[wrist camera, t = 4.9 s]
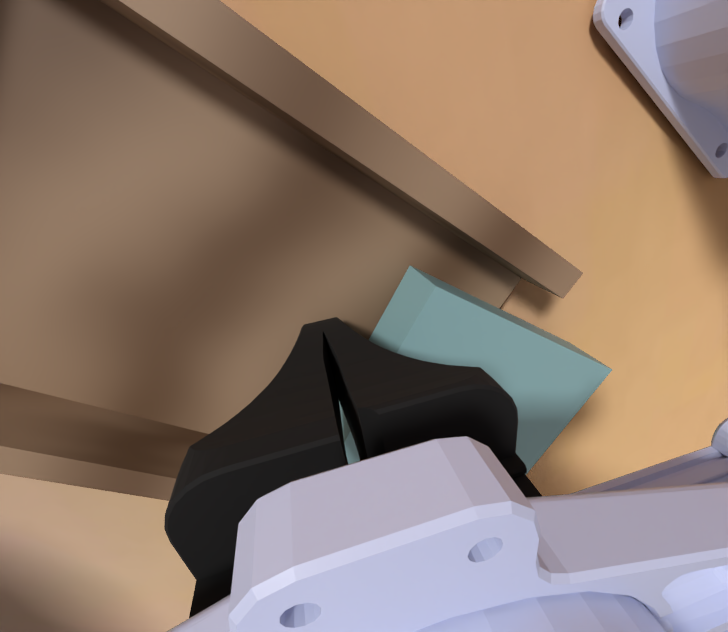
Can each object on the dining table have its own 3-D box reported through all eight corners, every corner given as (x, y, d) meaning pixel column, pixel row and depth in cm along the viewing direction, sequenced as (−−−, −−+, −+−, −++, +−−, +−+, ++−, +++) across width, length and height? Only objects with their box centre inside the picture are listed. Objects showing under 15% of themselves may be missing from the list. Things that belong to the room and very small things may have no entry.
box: (523, 251, 14) (583, 272, 11) (363, 476, 17) (379, 534, 14) (-142, -221, 6) (-451, -503, 4) (-195, 343, 10) (-374, 412, 7)
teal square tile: (569, 342, 15) (612, 369, 13) (474, 469, 18) (498, 507, 16) (409, 265, 12) (435, 286, 10) (316, 434, 14) (322, 478, 12)
